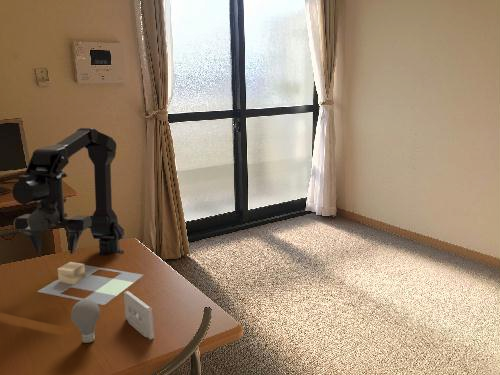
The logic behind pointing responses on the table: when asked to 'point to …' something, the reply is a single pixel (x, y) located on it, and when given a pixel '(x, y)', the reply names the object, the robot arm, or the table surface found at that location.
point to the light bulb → (85, 318)
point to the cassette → (139, 315)
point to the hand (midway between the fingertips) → (55, 253)
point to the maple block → (71, 272)
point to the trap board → (95, 285)
